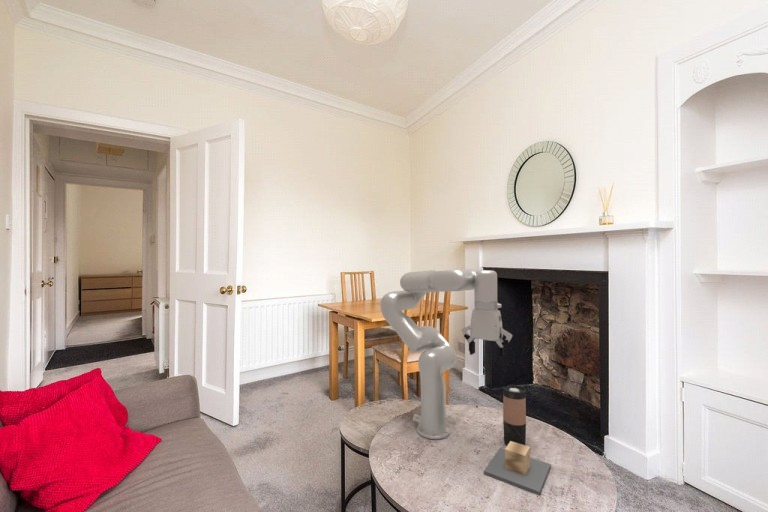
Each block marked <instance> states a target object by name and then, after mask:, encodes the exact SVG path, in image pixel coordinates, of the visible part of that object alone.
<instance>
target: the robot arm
mask: <svg viewBox="0 0 768 512" xmlns="http://www.w3.org/2000/svg"><path fill="white" fill-rule="evenodd" d="M399 280H400V281H399V285H400V287H401V289H402V290H397V291H396V290H395V291H390V292H387V293H385V294H384V295H383V296H382V297H381V300H380V311H381V312H380V313H381V315H382V317H383V318H384V320H385V321H386V322H387V323H388V325H390V327H391V328H392V329H393V330H394V331H395V332H396V334H397V335H398V337H399V338H400V339H401V341H402V342H403V343H404V344H405V346H407V348H408V349H409V350H410V351H411V352H412V353H420V352H422V353H421V354H420V355H419V357H418V361H417V362H418V363H417V364H418V370H419V376H420V414H417V413H413V417H412V422H415V423H417V426H416V431H417V433H418V435H419V436H421V437H423V438H426V439H430V440H443V439H444V438H445V439H446V438H447V437H448V436H449V435H450V433H451V432H450V431H451V429H450V427H449V426H448V425H447V421H446V412H447V411H446V410H447V409H446V407H447V406H446V398H447V397H446V396H447V395H446V392H447V391H446V381H445V379H444V377H443V372H445V371H448V370H450V369H452V368H454V367H455V366H456V365H457V361H458V356H457V353H456V350H455V349H454V348H453V346H452V345H451V344H450V343H449V341H447V340H446V338H445V337H444V336H443V335H442V333H441V332H440V331H439V330H438V329H436V328H435V327H433V326H431V325H423V326H419V325H418V324H417V323H416V322H415V321H414V320H413V318H412V317H410V316H409V315H408V314H406V313H405V312H403V311H408V310H411V309H414V308H415V307H416V306H417V305H419V303H420V301H422V299H423V298H424V297H425V296H426V294H427V293H439V292H440V293H441V292H464V291H472V290H473V293H474V308H473V309H472V313H471V316H470V317H471V318H470V325H468V326H465V327H463V328H461V332H462V335H463V337H464V339H465V340H466V341H467V343H468V351H469V355H471V356H472V355H473V354H475V353H476V341H475V340H476V339H477V340H483V341H488V342H490V341H492V342H496V344H497V345H498V347H497V359H498V360H502V359H503V358H504V356H505V346H507V345H508V344H509V343H510V341H511V340H512V338H513V334H512V333H511V332H509V331H508V330H505V329H504V328H503V321H502V314H501V311H500V310H499V309H500V308H502V306H503V305H502V303H499V302H498V274H497V272H496V271H495V270H490V269H489V270H488V269H487V270H486V269H481V270H480V269H479V270H478V269H471V268H470V269H469V268H468V269H466V268H465V269H464V268H463V269H462V268H461V269H448V270H435V269H431V270H422V271H419V270H418V271H409V272H406V273H404V274H403V275H402V276H401V277H400V279H399ZM468 331H469V333H470V334H469V333H468ZM504 336H505V337H506V338H505V339H504V340H503V337H504Z"/></svg>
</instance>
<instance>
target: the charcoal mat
mask: <svg viewBox="0 0 768 512" xmlns="http://www.w3.org/2000/svg"><path fill="white" fill-rule="evenodd" d="M551 469H552V465H551V464H550V463H548V462H545V461H542V460H539V459H536V458H533V457H530V467H529V469H528V472H527V474H526V476H524V475H522V474H519V473H516V472H513V471H510V470H508V469H505V448H502V447H499V449H498V450H497V451H496V453H495V454H494V456H493V457H492V459H491V460H490V462H489V463H488V464H487V465H486V467H485V469H483V475H484V476H485V475H486V476H488V477H490V478H493V479H496V480H499V481H501V482H503V483H505V484H508V485H511V486H513V487H517V488H519V489H522V490H524V491H527V492H530V493H532V494H535V495H537V496H540V495H541V494H542V492H543V491H542V490H543V488H544V486H545V483H546V480H547V478H548V476H549V474H550V470H551Z"/></svg>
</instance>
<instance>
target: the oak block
mask: <svg viewBox="0 0 768 512" xmlns="http://www.w3.org/2000/svg"><path fill="white" fill-rule="evenodd" d="M504 449H505V469H508V470H510V471H513V472H516V473H519V474H522V475H524V476H526V474H527V472H528V469H529V467H530V458H531V447H530V446H528V445H526V444H525V445H522V444H519V443H516V442H512V441H510V442H509V444H508V445H507V446H505V448H504Z"/></svg>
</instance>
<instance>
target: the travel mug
mask: <svg viewBox="0 0 768 512" xmlns="http://www.w3.org/2000/svg"><path fill="white" fill-rule="evenodd" d="M502 388H503V389H502V390H503V391H502V392H503V393H502V397H503V400H502V401H503V402H502V405H503V406H502V407H503V408H502V409H503V410H502V411H503V412H502V413H503V414H502V417H503V418H502V422H503V424H502V425H503V442H504V445H505V447H507V445H508V444H509V442H510V441H512V442H516V443H519V444H522V445H525V446H526V440H527V439H526V438H527V436H526V435H527V407H526V403H527V402H526V401H527V400H526V388H524V387H522V386H521V385H515V384H508V385H506V386H503V387H502Z"/></svg>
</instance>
